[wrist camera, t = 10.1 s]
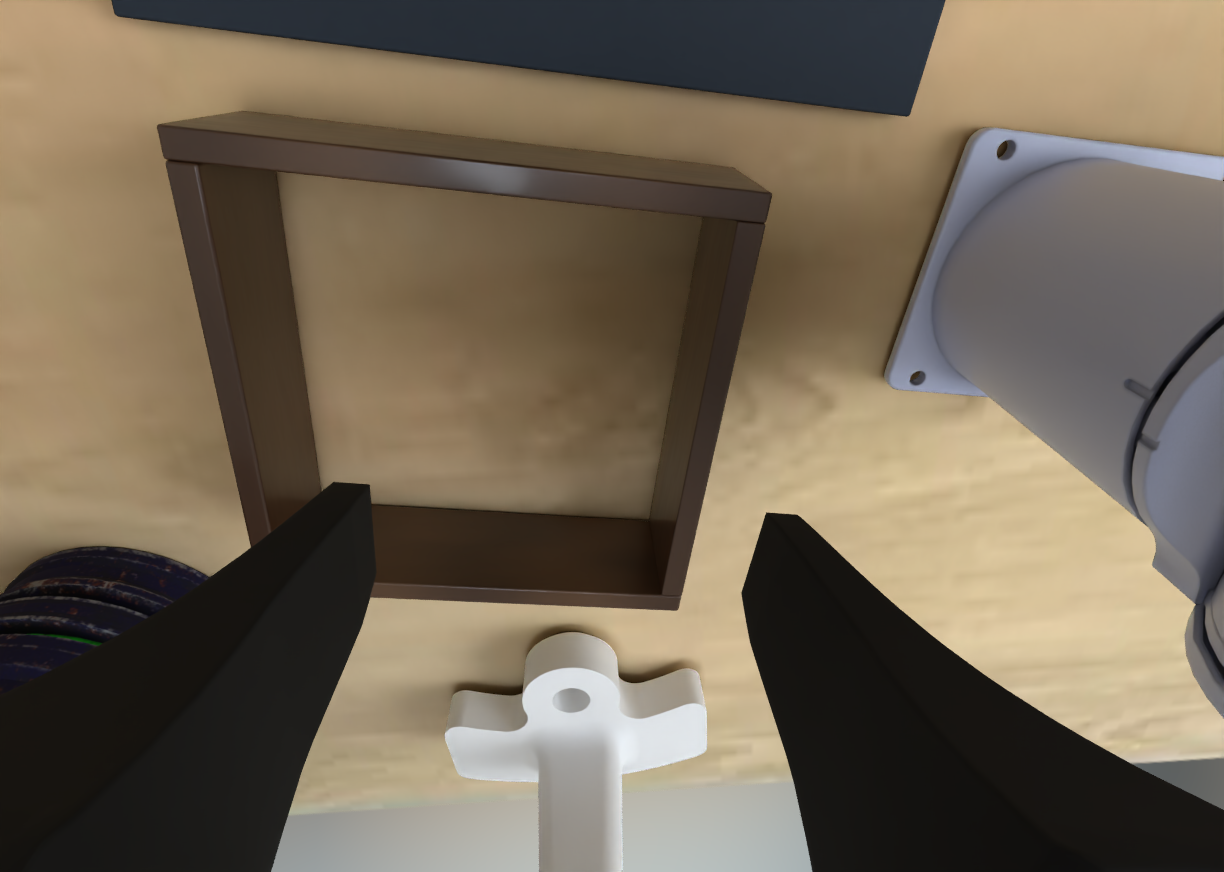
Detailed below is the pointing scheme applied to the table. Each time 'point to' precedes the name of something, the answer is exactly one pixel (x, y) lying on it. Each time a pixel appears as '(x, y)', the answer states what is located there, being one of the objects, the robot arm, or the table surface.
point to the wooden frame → (274, 376)
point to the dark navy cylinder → (81, 605)
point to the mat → (623, 39)
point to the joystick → (577, 742)
